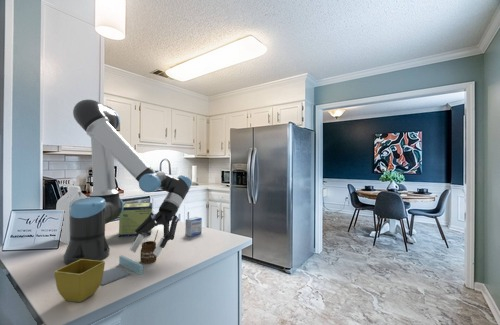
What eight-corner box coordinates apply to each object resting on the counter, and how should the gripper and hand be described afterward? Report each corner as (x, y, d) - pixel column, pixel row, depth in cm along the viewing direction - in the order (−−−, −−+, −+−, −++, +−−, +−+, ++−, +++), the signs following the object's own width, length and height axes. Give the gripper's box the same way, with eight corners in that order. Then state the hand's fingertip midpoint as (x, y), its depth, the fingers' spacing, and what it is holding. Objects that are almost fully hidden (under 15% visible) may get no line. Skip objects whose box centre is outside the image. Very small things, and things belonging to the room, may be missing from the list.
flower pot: (52, 303, 64) (52, 271, 64) (80, 287, 73) (81, 258, 73) (79, 308, 63) (80, 274, 63) (105, 290, 71) (106, 261, 71)
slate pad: (89, 277, 79) (89, 276, 79) (117, 267, 87) (117, 266, 87) (102, 285, 74) (102, 284, 74) (130, 274, 82) (130, 273, 82)
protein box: (151, 235, 125) (152, 205, 125) (118, 237, 120) (119, 207, 120) (151, 229, 135) (152, 202, 135) (121, 232, 129) (121, 203, 129)
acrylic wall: (119, 264, 90) (119, 256, 90) (121, 263, 91) (122, 255, 91) (139, 274, 82) (140, 265, 82) (142, 273, 83) (142, 264, 83)
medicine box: (190, 236, 124) (191, 220, 124) (185, 235, 126) (185, 219, 126) (201, 233, 130) (202, 217, 130) (196, 231, 133) (196, 216, 133)
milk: (93, 237, 120) (94, 186, 120) (68, 243, 110) (69, 188, 110) (79, 233, 125) (80, 184, 125) (53, 239, 115) (54, 186, 115)
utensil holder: (140, 258, 95) (141, 228, 95) (157, 256, 97) (158, 227, 97) (139, 264, 89) (140, 233, 89) (157, 262, 92) (158, 231, 92)
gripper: (196, 212, 104) (172, 261, 89) (154, 208, 112) (126, 253, 97) (189, 202, 99) (163, 252, 84) (146, 198, 107) (115, 244, 92)
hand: (143, 253), depth 91 cm, fingers open, 10 cm apart
